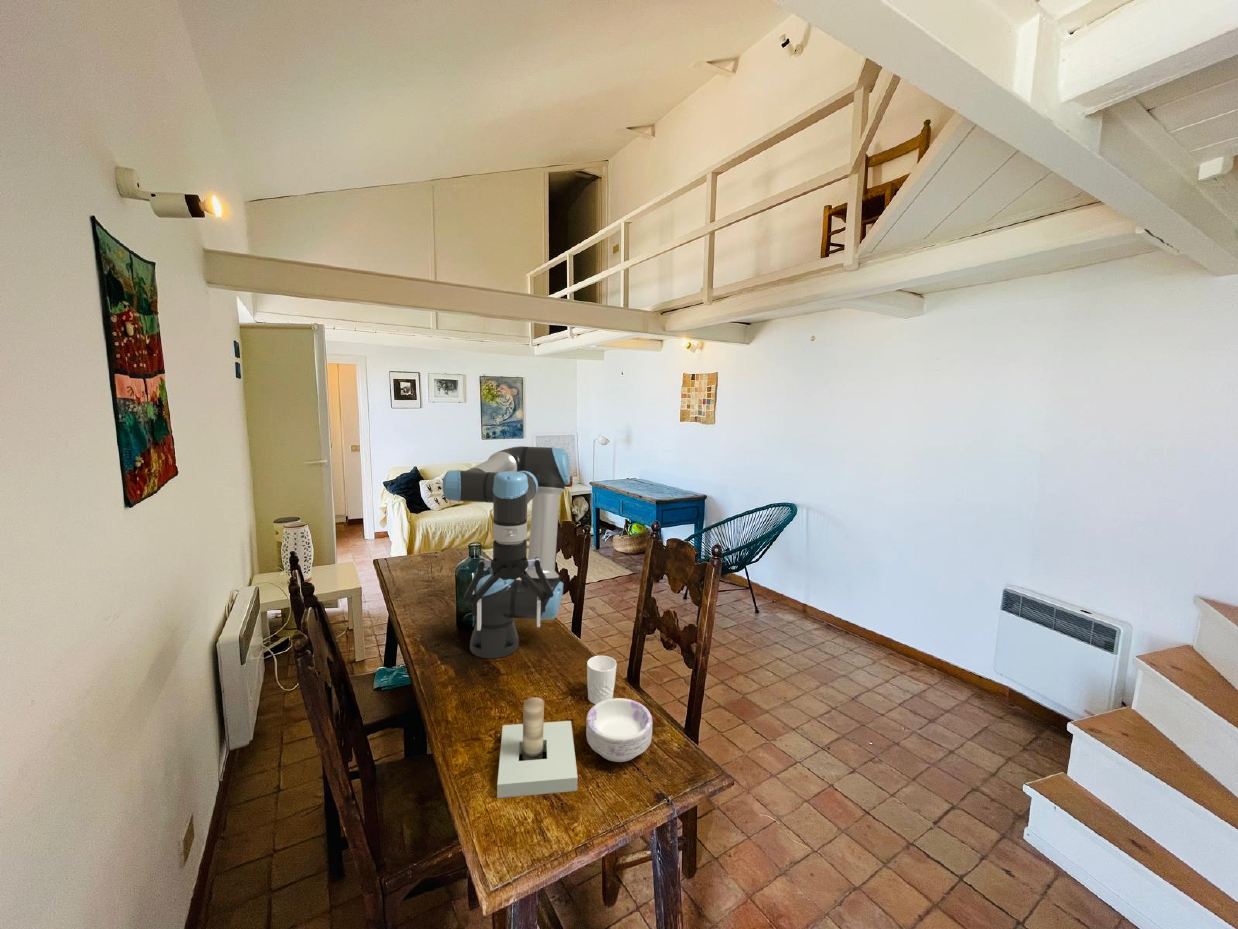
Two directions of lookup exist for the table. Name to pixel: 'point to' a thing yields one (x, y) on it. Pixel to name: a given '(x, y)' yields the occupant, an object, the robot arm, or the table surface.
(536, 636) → the table surface
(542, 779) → the socket board
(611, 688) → the white cup
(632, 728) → the paper bowls
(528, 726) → the maple dowel
